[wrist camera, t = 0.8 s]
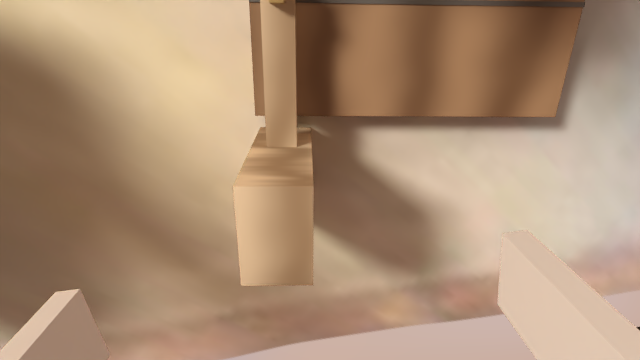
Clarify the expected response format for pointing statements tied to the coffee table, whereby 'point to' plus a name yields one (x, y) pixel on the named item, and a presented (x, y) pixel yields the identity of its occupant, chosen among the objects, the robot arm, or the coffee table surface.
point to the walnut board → (427, 57)
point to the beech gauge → (277, 169)
